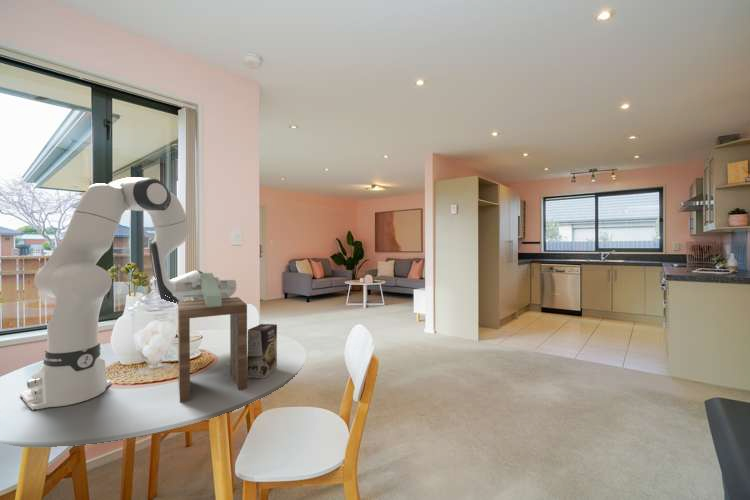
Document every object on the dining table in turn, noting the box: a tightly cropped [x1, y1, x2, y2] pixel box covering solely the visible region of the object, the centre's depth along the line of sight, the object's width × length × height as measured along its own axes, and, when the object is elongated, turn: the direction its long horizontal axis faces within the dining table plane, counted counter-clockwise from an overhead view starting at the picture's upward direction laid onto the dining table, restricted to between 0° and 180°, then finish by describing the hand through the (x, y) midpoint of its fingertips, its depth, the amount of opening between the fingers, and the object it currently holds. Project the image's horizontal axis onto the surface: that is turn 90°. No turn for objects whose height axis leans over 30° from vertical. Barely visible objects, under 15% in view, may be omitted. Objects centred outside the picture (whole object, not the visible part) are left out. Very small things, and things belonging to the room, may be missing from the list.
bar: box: [200, 272, 222, 308], centre depth 111 cm, size 26×4×4 cm, turn 31°
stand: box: [177, 296, 248, 403], centre depth 107 cm, size 16×18×26 cm
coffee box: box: [247, 323, 278, 380], centre depth 117 cm, size 9×6×16 cm
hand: (207, 279), depth 117 cm, fingers closed on bar, 4 cm apart
